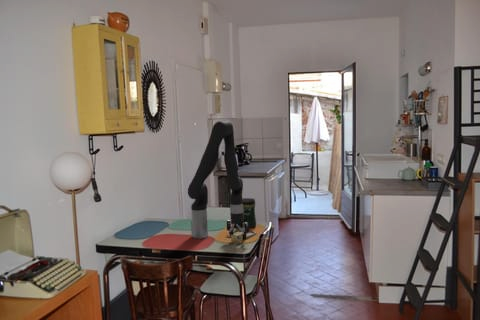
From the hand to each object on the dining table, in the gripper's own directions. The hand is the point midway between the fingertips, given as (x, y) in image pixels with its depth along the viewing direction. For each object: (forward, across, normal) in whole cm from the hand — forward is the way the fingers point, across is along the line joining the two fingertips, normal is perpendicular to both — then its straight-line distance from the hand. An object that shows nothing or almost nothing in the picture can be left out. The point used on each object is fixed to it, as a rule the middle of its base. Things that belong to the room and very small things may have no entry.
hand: (238, 238), depth 230 cm
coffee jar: (+2, -13, +29) cm, 32 cm away
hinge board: (+2, -6, +11) cm, 13 cm away
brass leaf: (+2, 0, 0) cm, 2 cm away
